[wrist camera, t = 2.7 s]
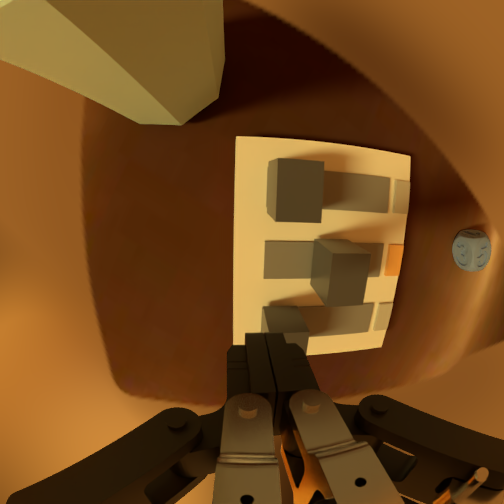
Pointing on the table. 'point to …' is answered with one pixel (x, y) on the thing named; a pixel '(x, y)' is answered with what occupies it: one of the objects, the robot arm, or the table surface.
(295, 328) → the block
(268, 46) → the table surface
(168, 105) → the water bottle
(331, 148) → the breaker panel
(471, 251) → the decorative dice
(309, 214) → the block
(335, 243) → the block
